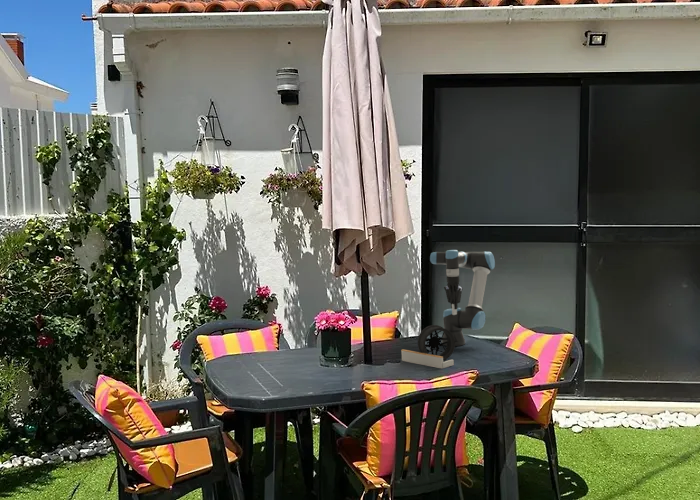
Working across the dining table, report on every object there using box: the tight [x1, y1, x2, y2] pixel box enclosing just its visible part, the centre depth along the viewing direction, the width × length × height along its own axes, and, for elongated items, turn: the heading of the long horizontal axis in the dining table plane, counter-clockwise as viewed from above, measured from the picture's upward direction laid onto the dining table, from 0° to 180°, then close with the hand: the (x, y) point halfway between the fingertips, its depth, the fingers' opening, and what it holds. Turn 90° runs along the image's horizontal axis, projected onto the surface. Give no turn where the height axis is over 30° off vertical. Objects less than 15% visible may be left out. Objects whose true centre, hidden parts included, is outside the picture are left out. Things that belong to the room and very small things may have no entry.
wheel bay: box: [400, 349, 455, 369], centre depth 374 cm, size 10×31×7 cm, turn 41°
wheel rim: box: [417, 324, 456, 362], centre depth 379 cm, size 20×9×20 cm, turn 104°
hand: (454, 314), depth 390 cm, fingers closed
